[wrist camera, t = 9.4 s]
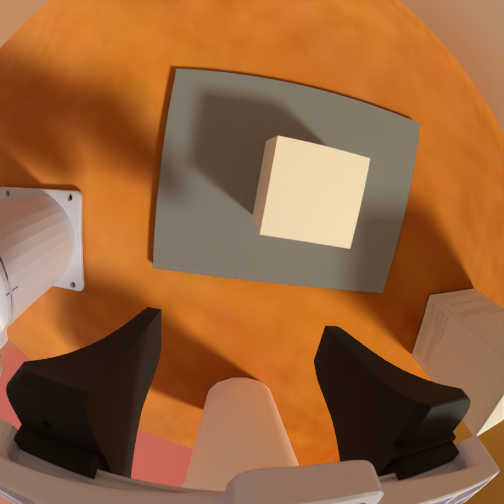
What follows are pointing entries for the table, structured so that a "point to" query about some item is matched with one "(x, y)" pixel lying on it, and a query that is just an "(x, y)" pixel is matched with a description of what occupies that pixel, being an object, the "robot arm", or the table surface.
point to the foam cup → (237, 435)
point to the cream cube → (309, 192)
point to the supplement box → (466, 352)
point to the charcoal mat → (248, 172)
